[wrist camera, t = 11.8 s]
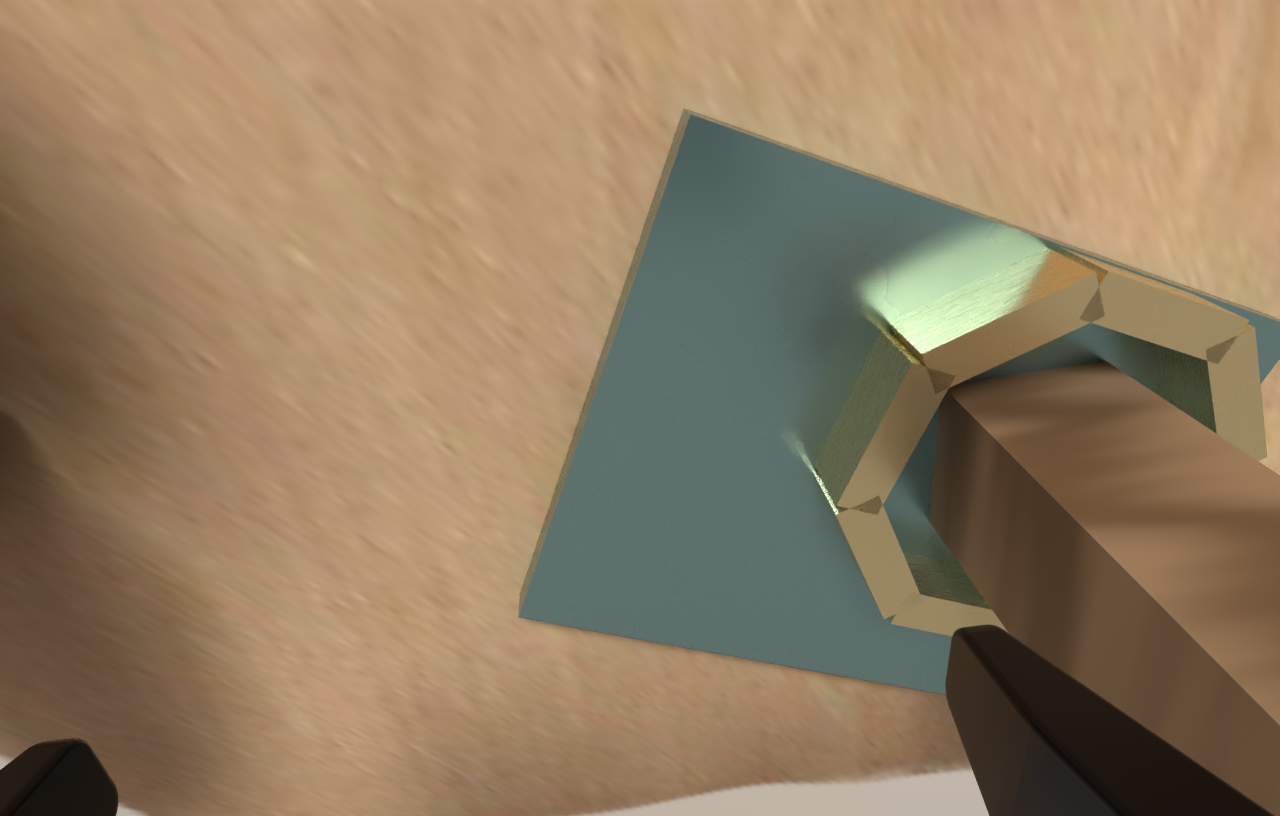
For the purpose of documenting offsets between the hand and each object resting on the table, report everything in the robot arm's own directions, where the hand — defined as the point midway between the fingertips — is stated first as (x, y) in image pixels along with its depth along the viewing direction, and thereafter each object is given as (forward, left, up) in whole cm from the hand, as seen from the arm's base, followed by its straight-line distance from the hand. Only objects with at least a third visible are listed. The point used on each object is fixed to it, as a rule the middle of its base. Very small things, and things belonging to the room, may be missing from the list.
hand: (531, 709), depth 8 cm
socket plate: (+11, -2, -13) cm, 17 cm away
